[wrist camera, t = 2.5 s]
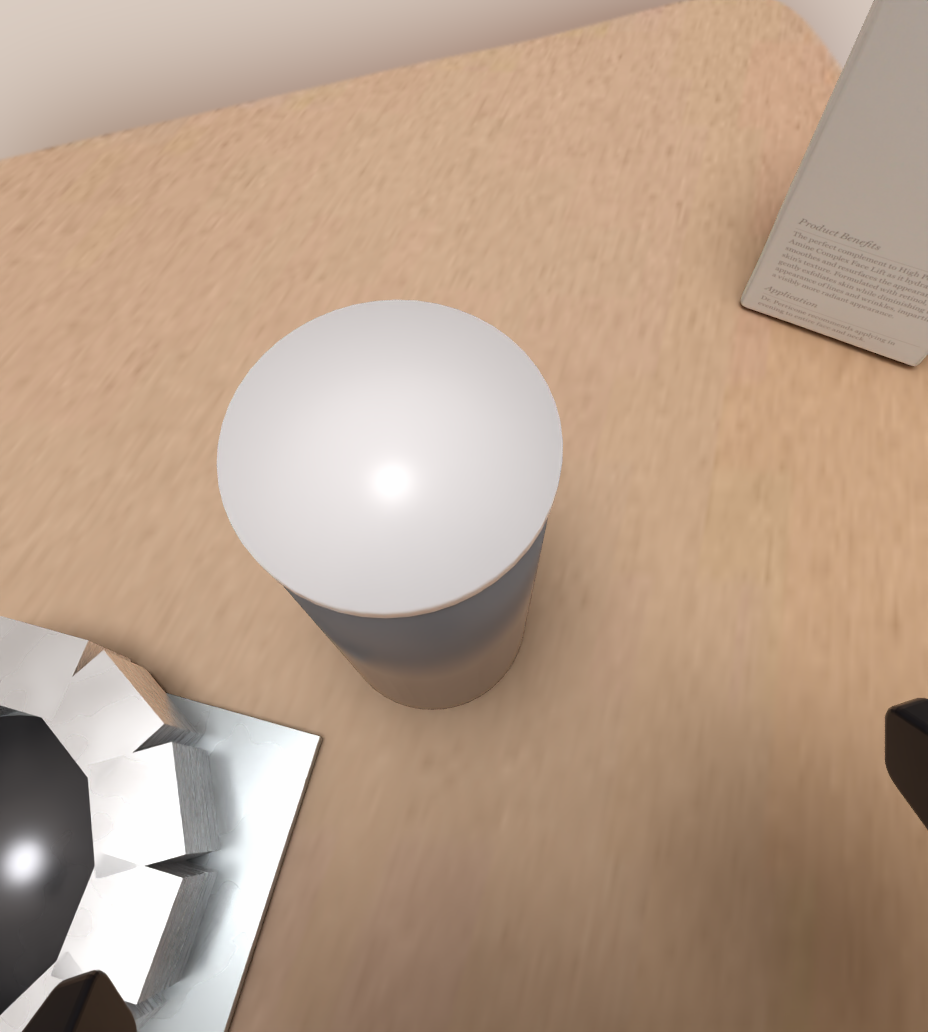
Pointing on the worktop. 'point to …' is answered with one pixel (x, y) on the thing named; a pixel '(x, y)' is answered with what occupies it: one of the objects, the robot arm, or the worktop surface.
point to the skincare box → (861, 201)
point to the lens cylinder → (398, 489)
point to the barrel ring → (133, 833)
